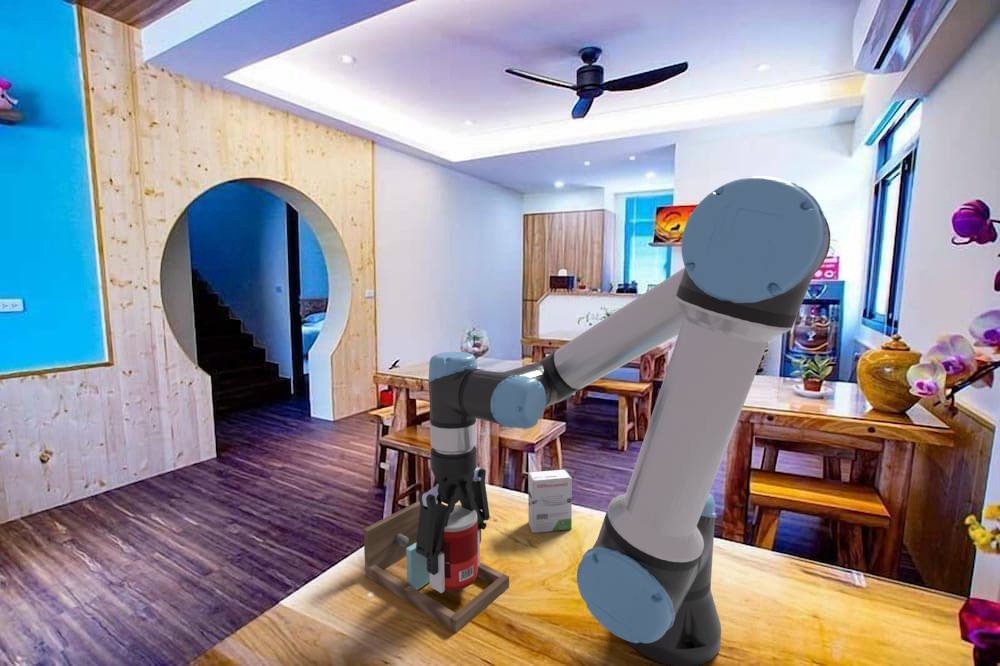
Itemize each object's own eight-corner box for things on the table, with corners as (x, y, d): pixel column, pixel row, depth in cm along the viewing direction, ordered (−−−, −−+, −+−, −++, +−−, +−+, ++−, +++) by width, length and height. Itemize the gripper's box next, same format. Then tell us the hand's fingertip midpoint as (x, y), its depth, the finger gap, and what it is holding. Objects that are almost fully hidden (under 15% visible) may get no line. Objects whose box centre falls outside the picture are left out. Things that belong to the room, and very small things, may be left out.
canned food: (482, 565, 84) (482, 506, 83) (471, 595, 76) (470, 530, 75) (441, 560, 86) (440, 502, 84) (425, 588, 78) (424, 525, 77)
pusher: (453, 564, 89) (453, 525, 88) (412, 593, 81) (410, 550, 80) (441, 558, 91) (440, 519, 90) (399, 586, 83) (398, 544, 82)
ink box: (565, 518, 106) (566, 467, 104) (572, 530, 101) (573, 477, 99) (527, 521, 104) (527, 470, 103) (532, 534, 99) (532, 480, 98)
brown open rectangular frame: (509, 587, 83) (509, 538, 82) (456, 633, 72) (455, 578, 71) (420, 542, 96) (419, 500, 95) (365, 575, 86) (363, 528, 85)
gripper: (477, 426, 89) (478, 540, 91) (387, 461, 72) (392, 599, 75) (510, 434, 84) (510, 554, 87) (421, 473, 68) (425, 620, 70)
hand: (455, 575), depth 81 cm, fingers closed on canned food, 8 cm apart
